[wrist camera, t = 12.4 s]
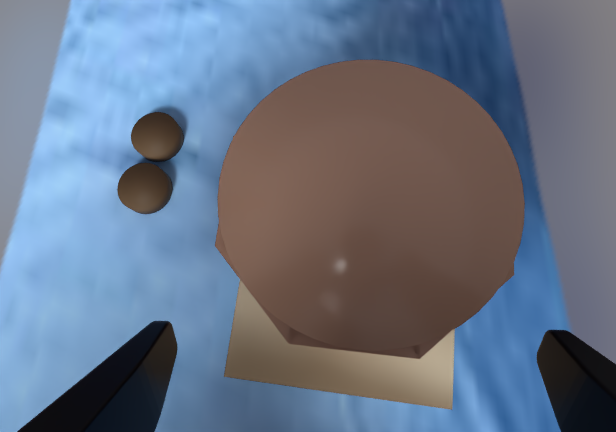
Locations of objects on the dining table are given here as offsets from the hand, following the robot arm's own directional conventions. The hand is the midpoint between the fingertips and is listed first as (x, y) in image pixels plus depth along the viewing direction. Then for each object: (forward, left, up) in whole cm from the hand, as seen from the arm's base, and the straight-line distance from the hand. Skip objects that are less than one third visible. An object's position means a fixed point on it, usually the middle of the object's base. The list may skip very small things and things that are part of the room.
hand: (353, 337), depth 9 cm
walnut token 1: (+9, +11, -10) cm, 17 cm away
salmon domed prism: (+3, 0, -8) cm, 9 cm away
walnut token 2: (+6, +11, -10) cm, 16 cm away
